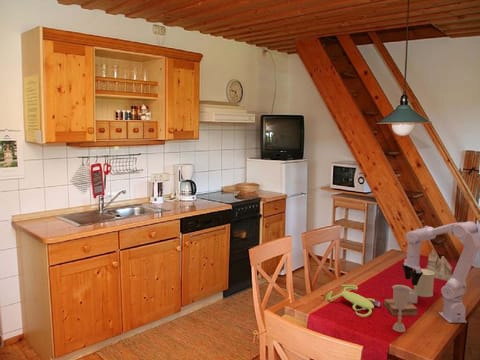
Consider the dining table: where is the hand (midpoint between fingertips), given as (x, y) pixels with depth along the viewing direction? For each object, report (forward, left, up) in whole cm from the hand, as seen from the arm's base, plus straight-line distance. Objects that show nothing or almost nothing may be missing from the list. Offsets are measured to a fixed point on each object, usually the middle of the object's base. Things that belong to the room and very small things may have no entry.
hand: (411, 282), depth 206 cm
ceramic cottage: (+36, -33, -10) cm, 50 cm away
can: (+9, -11, -10) cm, 17 cm away
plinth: (-10, +9, -10) cm, 17 cm away
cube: (0, 0, -10) cm, 10 cm away
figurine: (-2, +29, -10) cm, 31 cm away
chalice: (-28, +17, -10) cm, 34 cm away
